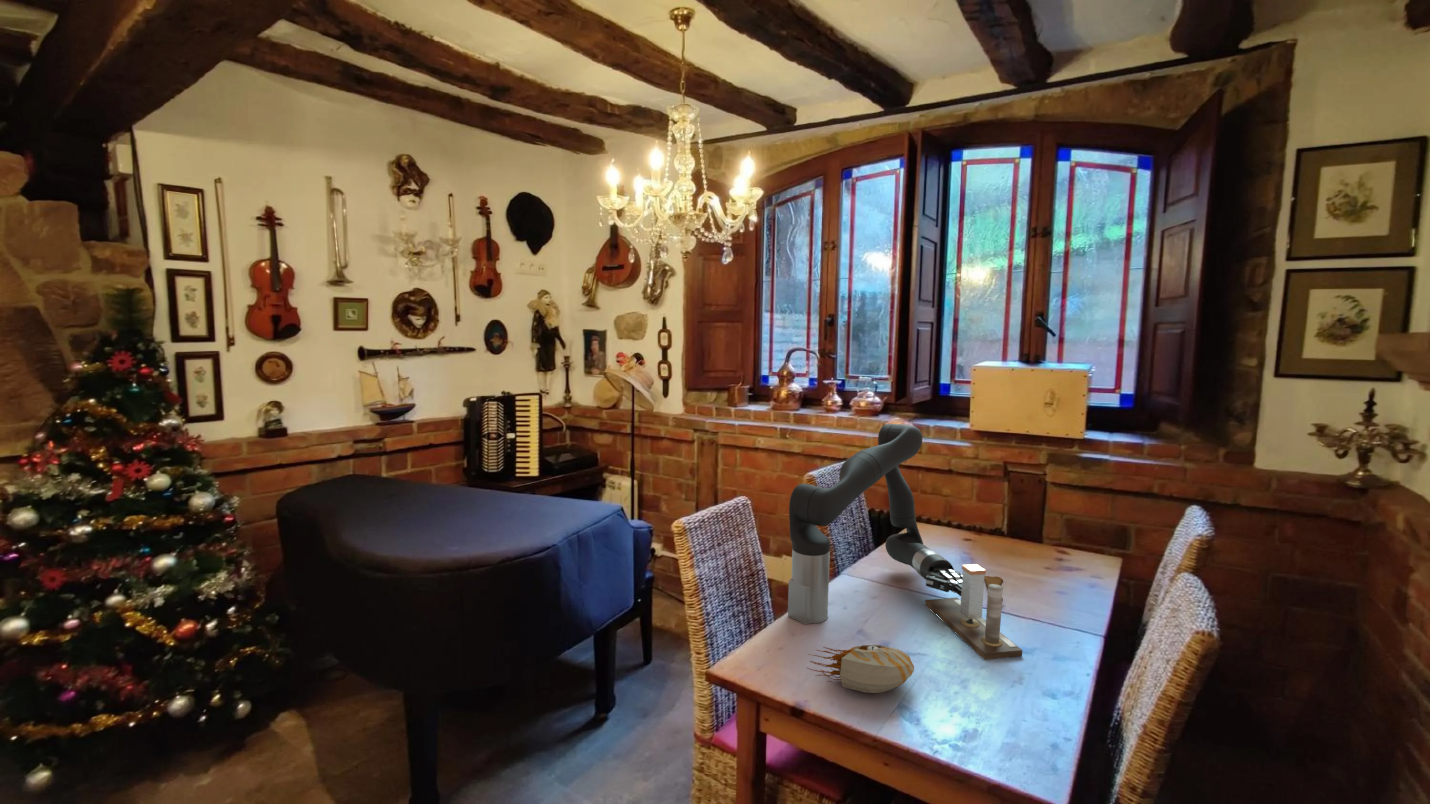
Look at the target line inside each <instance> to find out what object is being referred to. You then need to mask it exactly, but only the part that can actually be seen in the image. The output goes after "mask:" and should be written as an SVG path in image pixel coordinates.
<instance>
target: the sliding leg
mask: <svg viewBox="0 0 1430 804" xmlns="http://www.w3.org/2000/svg"><path fill="white" fill-rule="evenodd" d="M961 570H962V574H961V575H962V591H961V596H960V600H961V608H960V613H961V614H962V615H964V616H965V617H966V618H967V619H968V621H969V622H973V619H979V618H983V606H984V605H983V603H984V589H985V581H984V576H986V573H987V571H986V569H985V568H983V567H981V566H980V565H979V564H977V563H976V564H975V563H973V564H962V565H961Z"/></svg>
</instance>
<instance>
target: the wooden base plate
mask: <svg viewBox="0 0 1430 804" xmlns="http://www.w3.org/2000/svg"><path fill="white" fill-rule="evenodd" d="M1003 591H1004V587H1003V586H1002V585H1001V586H1000V585H996V584H990V585H988V589H987V601H986V614H985V615H986V616H985V619H984V618H983V617H982V618H979V619H973V622H969V621H968V619H967V618H966V617H965V616H964V615H962V614H961V613H960V608H961V598H960V599H959V597H946V598H945V597H944V598H931V599H925V600H924V606H925V605H926V606H927V607H928V608H929V609H928V608H927V607H926V606H925V607H926V608H927V609H928V610H930V609H931V610H932V611H933V612H934V613H935V614H937V615H938V616H939V617H940V618H941V619H942V620H943V621H944V622H945V623H946V624H947V625H948V626H949V627H950V628H951V630H952V632H954V633H955V632H956V633H957V634H958V635H959V636H960V637H961V638H962V639H963V642H965V643H966V644H967V643H968V644H969V645H970V646H971V647H972V648H973V649H974V650H973V649H972V648H971V647H970V646H969V645H968V644H967V645H968V646H969V647H970V648H971V649H972V650H973V651H974V652H976V653H977V655H979V656H980V658H982V659H983V658H984V659H985V660H987V659H988V660H997V658H999V659H1007V658H1006V657H1010V658H1018V657H1017V656H1022V657H1023V649H1022V648H1021V647H1019V646H1018V645H1017V644H1016V643H1014V642H1013V640H1010V639H1009V638H1008V637H1007V636H1006V635H1004V634H1003V633H1002V632H1001V621H1002V619H1001V618H1002V605H1003V604H1002V603H1003V601H1002V598H1003ZM931 610H930V611H931ZM932 611H931V612H932ZM933 612H932V613H933ZM934 613H933V614H934ZM935 614H934V615H935ZM941 619H940V620H941ZM942 620H941V621H942ZM943 621H942V622H943ZM944 622H943V623H944ZM945 623H944V624H945ZM946 624H945V625H946ZM947 625H946V626H947ZM948 626H947V627H948ZM949 627H948V628H949ZM950 628H949V629H950ZM956 633H955V634H956ZM957 634H956V635H957ZM958 635H957V636H958ZM959 636H958V637H959ZM960 637H959V638H960ZM962 639H961V640H962ZM984 659H983V660H984ZM985 660H984V661H985Z"/></svg>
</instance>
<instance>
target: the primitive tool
mask: <svg viewBox="0 0 1430 804" xmlns="http://www.w3.org/2000/svg"><path fill="white" fill-rule="evenodd" d="M1002 583H1004V579H1003V578H1002V577H1001V576H995V575H994V576H990V575H985V576H984V584H985V586H986V588H987V590H988V585H990V584H996V585H1000V586H1002ZM1003 599H1004V598H1003V597H1002V602H1004V601H1003Z"/></svg>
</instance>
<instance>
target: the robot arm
mask: <svg viewBox="0 0 1430 804" xmlns="http://www.w3.org/2000/svg"><path fill="white" fill-rule="evenodd" d="M922 434H923V433H922V431H921V430H920V429H919V428H918V427H917V426H914V425H910V424H899V423H898V424H897V423H885V424H884V425H882V427H881V428H880V429H879V432H878V436H877V444H878V445H874V446H871V447H868V448H864V449H861V450H859V451H858V452H856V453H854V454H853V455H852V456H850V457H849V458H847V459H846V460H845V461H844V462H843V463H842V464H841V466H840V469H839V474H838V475H839V476H838V477H839V481H838V482H837V483H836V484H834V485H832V486H831V487H821V486H818V485H813V484H810V483H809V484H808V483H800V484H798V485H796V486H795V487H794V489H793V490H792V492H791V494H790V498H789V506H788V516H789V517H788V519H789V521H788V522H789V537H790V541H791V545H792V546H791V548H792V549H791V550H792V551H791V578H790V579H789V580H788V592H787V593H788V594H787V595H788V596H787V599H788V601H787V603H788V604H787V616H788V617H789V618H792V619H794V620H795V621H798V622H800V623H802V624H803V625H808V624H819V623H822V622H825V621H826V620H827V619H828V618H829V617H828V615H829V588H830V587H829V586H830V584H829V583H830V580H829V579H830V559H831V558H830V556H831V555H830V554H831V553H830V552H831V542H830V541H831V540H830V538H829V537H828V536H827V535H826V534H825V533H823V532H822V531H821V530H820V529H819V528H818V527H827V526H829V525H830V524H832V523H833V522H834V521H836V519H838V517H840V515H841V514H842V513H843V512H844V511H845V510H846V509H847V508H848V507H849V505H851V503H853V501H855V500H856V499H857V498H858V497H860V495H862V494H863V493H864V492H865V491H867V490H868V489H870V488H871V487H872V486H874V485H875V484H876V483H877V482H878V481H880V480H881V478H883V477H884V478H885V482H886V487H887V492H888V501H889V503H888V505H889V515H890V516H889V518H890V523H891V525H892V526H893V527H896V528H899V529H905V530H906V532H902V533H896V534H891V535H890V536H888V537H887V538H886V541H885V544H884V545H885V550H886V553H887V554H888V555H889V557H890V558H891V559H893V560H894V561H896V562H899V563H900V564H901V563H902V564H904V565H908V566H909V567H911V568H913V570H915V572H917V574H918V575H919V576H921V578H923V579H924V580H925V586H926V587H928V588H932V589H936V590H937V591H941V592H945V593H949V592H950V591H951V593H954V594H957V595H959V597H961V591H962V575H963V574H961V572H959V571H957V570H955V569H954V567H953V565H952V563H951V562H950V561H949V560H947V559H946V558H944V557H943V556H942V555H940V554H939V553H937V552H935V551H933V550H932V549H930V548H929V547H928V546H926V545H925V544H924V541H923V539H922V536H921V534H920V531H919V527H918V524H917V519H916V507H915V500H914V495H913V492H912V490H911V488H910V486H909V484H908V483H907V481H906V479H905V478H904V476H903V474H902V472H901V470H900V467H899V465H901V464H902V463H905V462H906V461H908V460H910V459H911V458H913V457H915V456H916V455H917V454H918V453H919V451H920V450H921V447H922V445H923V444H922V443H923V435H922Z"/></svg>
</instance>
